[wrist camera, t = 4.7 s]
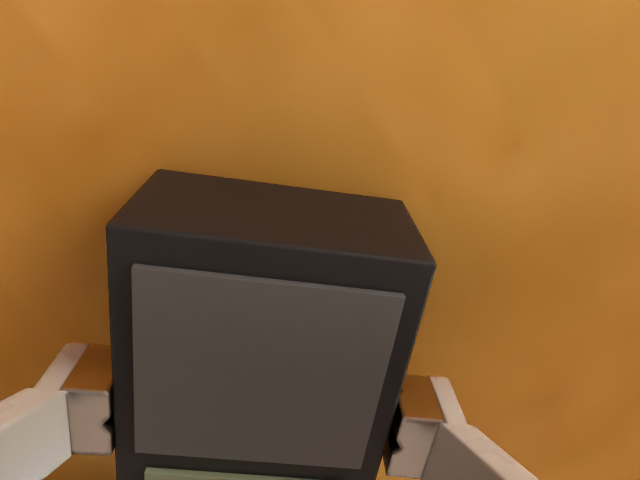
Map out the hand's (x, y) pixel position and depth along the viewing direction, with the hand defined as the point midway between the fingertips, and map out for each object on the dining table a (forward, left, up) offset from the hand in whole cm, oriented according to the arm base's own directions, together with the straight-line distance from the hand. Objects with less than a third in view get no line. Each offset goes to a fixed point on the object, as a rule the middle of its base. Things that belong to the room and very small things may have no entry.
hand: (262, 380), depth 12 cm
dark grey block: (0, 0, -2) cm, 2 cm away
